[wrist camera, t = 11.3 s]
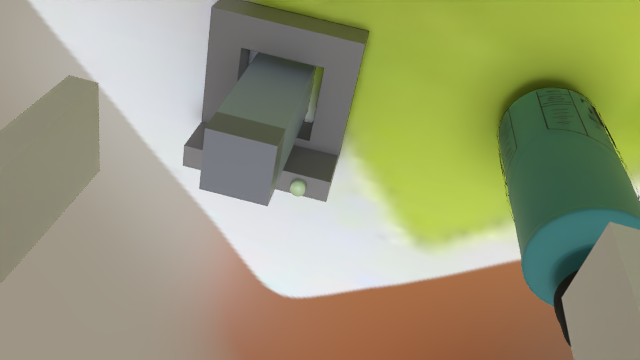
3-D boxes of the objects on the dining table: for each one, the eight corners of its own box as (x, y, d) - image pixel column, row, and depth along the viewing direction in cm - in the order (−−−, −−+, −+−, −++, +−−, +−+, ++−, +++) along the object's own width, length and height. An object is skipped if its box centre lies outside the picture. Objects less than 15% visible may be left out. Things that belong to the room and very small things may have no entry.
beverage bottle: (474, 128, 43) (494, 342, 26) (541, 53, 39) (612, 246, 23) (548, 175, 44) (612, 411, 27) (619, 107, 40) (743, 330, 24)
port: (223, -4, 41) (189, 28, 35) (369, 31, 40) (357, 69, 35) (210, 125, 46) (179, 170, 41) (338, 157, 46) (324, 207, 40)
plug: (261, 48, 42) (204, 128, 32) (317, 62, 42) (277, 146, 32) (254, 99, 45) (199, 188, 35) (307, 112, 44) (267, 206, 34)
